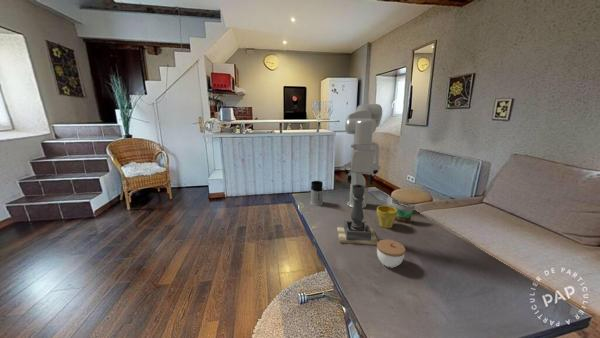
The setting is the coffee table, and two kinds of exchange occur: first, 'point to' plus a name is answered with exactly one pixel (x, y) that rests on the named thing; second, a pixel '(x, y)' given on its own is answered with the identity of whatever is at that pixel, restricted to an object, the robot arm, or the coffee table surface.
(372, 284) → the coffee table surface
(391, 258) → the lidded jar
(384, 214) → the plant pot
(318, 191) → the glass holder
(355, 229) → the candle holder
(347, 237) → the socket board
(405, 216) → the food container
